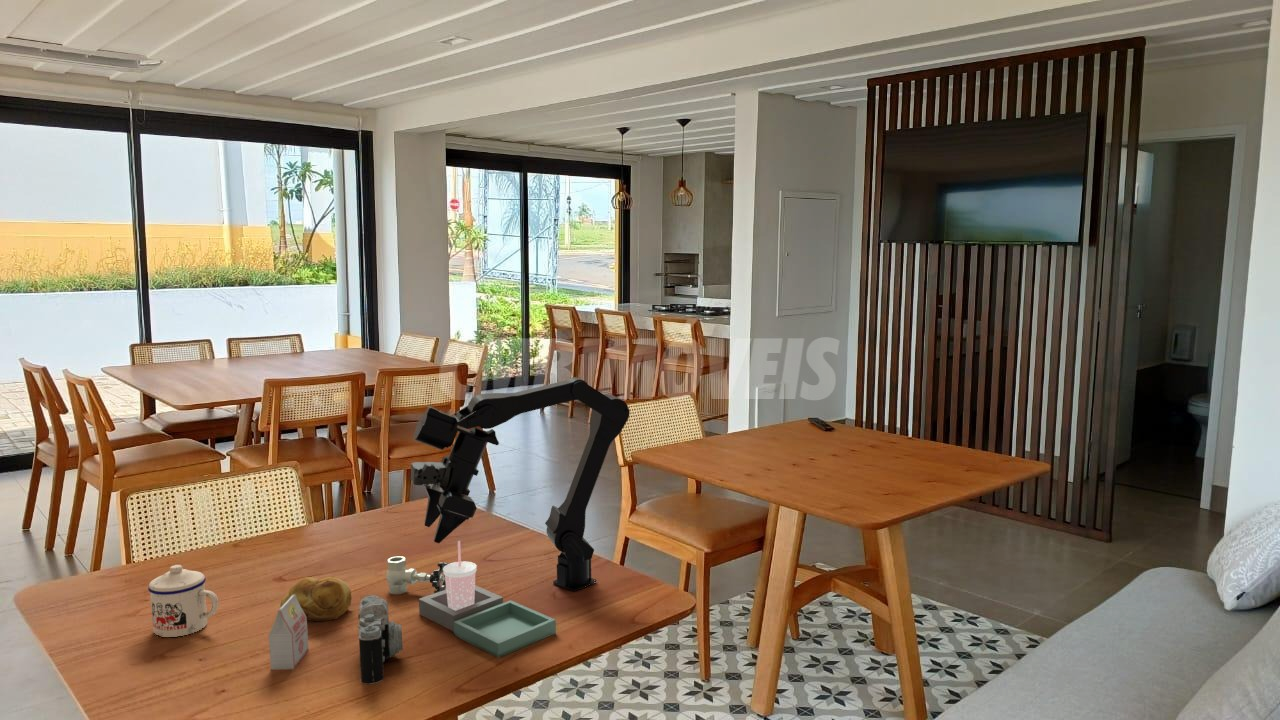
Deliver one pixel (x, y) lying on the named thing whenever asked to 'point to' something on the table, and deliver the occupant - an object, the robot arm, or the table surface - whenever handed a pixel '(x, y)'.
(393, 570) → the valve
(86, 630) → the table surface
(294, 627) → the milk carton
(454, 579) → the beverage cup
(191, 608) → the teacup with lid
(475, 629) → the tray
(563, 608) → the table surface
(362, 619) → the camera
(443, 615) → the holder block
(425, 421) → the robot arm
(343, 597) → the bread roll
